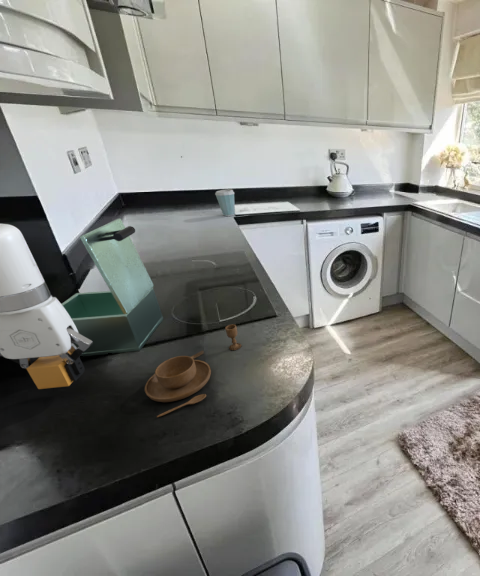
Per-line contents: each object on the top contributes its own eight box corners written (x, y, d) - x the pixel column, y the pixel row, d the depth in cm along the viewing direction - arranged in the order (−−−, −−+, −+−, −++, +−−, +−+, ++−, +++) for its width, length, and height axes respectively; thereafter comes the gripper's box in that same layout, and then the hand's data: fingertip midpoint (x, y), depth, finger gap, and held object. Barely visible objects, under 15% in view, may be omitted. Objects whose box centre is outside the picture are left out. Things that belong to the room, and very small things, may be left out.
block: (38, 389, 61) (26, 368, 59) (56, 371, 66) (45, 352, 63) (69, 386, 62) (58, 365, 60) (84, 369, 67) (75, 349, 64)
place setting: (144, 371, 72) (136, 350, 69) (239, 341, 82) (234, 321, 80) (150, 424, 59) (139, 400, 56) (260, 380, 70) (256, 358, 67)
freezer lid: (79, 236, 65) (106, 232, 66) (117, 218, 78) (139, 215, 79) (123, 314, 74) (147, 310, 74) (151, 286, 87) (170, 283, 87)
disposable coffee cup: (224, 218, 193) (219, 192, 187) (216, 215, 200) (211, 190, 193) (241, 215, 201) (237, 190, 194) (232, 212, 207) (228, 188, 200)
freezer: (53, 359, 75) (33, 323, 70) (91, 325, 88) (76, 293, 83) (139, 350, 78) (126, 315, 74) (163, 319, 91) (153, 287, 87)
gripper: (-65, 311, 51) (-7, 397, 59) (62, 303, 54) (100, 385, 62) (-23, 290, 57) (24, 370, 65) (89, 284, 61) (120, 361, 69)
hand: (61, 377), depth 64 cm, fingers closed on block, 5 cm apart
